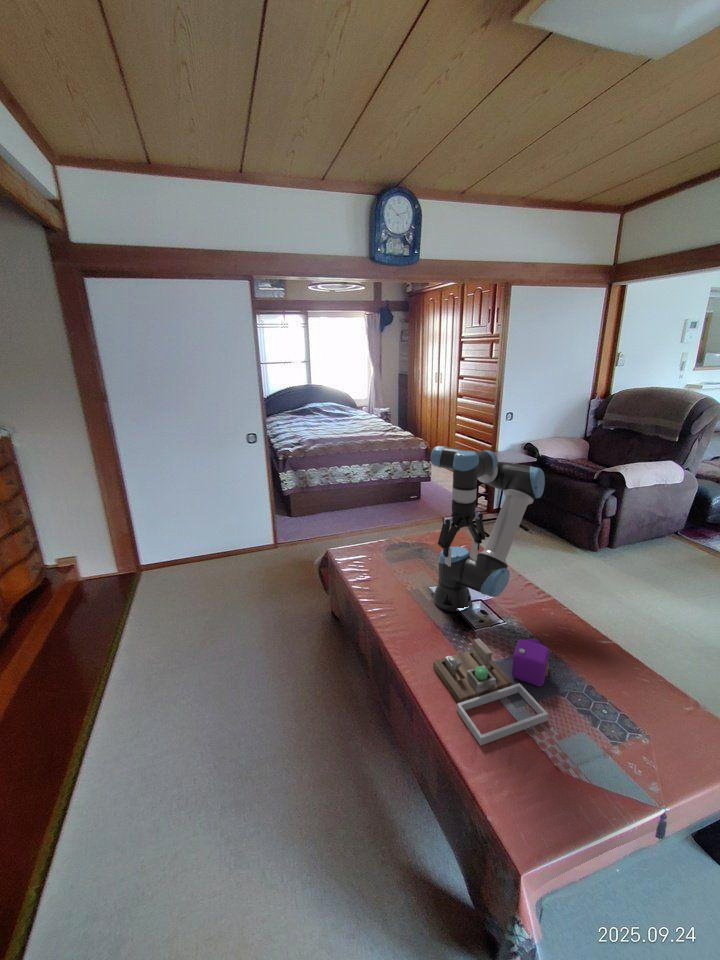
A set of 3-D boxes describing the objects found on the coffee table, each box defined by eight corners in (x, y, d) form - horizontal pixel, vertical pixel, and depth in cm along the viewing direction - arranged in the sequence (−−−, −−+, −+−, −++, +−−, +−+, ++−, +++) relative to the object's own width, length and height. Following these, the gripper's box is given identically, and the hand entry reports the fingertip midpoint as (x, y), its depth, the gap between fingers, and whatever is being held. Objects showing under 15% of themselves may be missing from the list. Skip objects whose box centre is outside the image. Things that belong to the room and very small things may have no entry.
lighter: (444, 667, 132) (445, 647, 130) (449, 666, 132) (450, 645, 130) (456, 683, 126) (457, 662, 123) (461, 682, 126) (462, 661, 124)
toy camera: (545, 659, 135) (548, 634, 132) (549, 690, 123) (553, 663, 120) (511, 652, 138) (513, 628, 135) (511, 682, 126) (514, 656, 123)
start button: (482, 674, 125) (483, 664, 124) (489, 682, 122) (490, 673, 121) (472, 677, 124) (472, 667, 123) (479, 686, 121) (479, 676, 120)
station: (480, 653, 138) (481, 632, 136) (511, 688, 124) (513, 665, 121) (433, 667, 133) (433, 645, 130) (459, 705, 118) (461, 682, 116)
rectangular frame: (518, 689, 123) (519, 683, 123) (547, 720, 113) (548, 713, 112) (456, 710, 117) (456, 703, 116) (480, 745, 106) (480, 738, 106)
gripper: (486, 491, 137) (482, 551, 144) (427, 500, 131) (426, 562, 137) (500, 498, 130) (495, 560, 137) (439, 508, 124) (437, 573, 131)
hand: (460, 561), depth 137 cm, fingers open, 9 cm apart
